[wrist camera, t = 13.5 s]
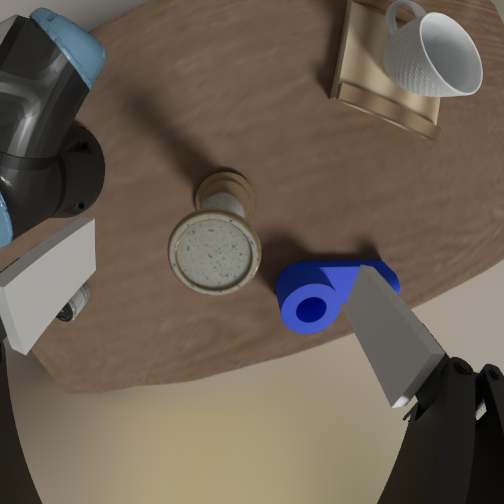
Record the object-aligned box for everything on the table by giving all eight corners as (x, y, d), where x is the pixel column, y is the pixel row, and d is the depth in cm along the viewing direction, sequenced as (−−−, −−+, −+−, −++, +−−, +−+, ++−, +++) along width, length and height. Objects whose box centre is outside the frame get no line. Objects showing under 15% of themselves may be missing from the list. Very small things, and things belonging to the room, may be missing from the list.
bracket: (277, 310, 48) (283, 337, 41) (272, 264, 45) (278, 289, 38) (378, 292, 48) (395, 315, 41) (381, 248, 45) (402, 267, 38)
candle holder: (212, 161, 38) (185, 182, 19) (266, 188, 40) (290, 234, 21) (186, 213, 41) (145, 277, 22) (238, 238, 42) (237, 318, 24)
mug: (347, 19, 26) (386, -17, 14) (401, 15, 25) (447, -10, 13) (387, 106, 32) (443, 100, 20) (436, 95, 31) (492, 91, 19)
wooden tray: (328, 101, 35) (339, 98, 30) (347, -2, 27) (357, -13, 23) (422, 140, 37) (438, 141, 33) (434, 43, 29) (449, 38, 25)
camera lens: (94, 303, 46) (77, 327, 39) (69, 299, 46) (51, 322, 39) (87, 274, 44) (67, 296, 37) (62, 272, 44) (41, 292, 36)
